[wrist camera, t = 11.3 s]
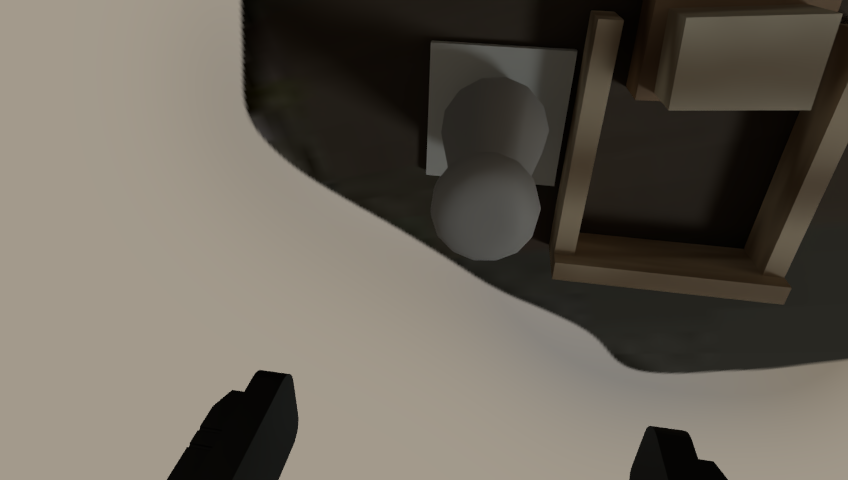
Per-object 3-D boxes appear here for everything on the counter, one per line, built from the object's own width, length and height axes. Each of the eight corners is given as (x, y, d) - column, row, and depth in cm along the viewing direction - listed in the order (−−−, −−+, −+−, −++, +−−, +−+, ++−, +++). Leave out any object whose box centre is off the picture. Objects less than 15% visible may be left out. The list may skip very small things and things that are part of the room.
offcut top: (668, 8, 25) (686, 17, 22) (808, 4, 24) (843, 13, 21) (654, 92, 27) (668, 110, 24) (781, 92, 26) (810, 110, 23)
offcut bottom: (644, -13, 27) (657, -7, 25) (811, -10, 26) (843, -3, 24) (625, 85, 30) (635, 99, 27) (776, 91, 29) (802, 107, 26)
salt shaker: (554, 152, 31) (573, 274, 20) (461, 173, 33) (433, 297, 22) (534, 53, 29) (544, 133, 18) (434, 81, 30) (387, 170, 19)
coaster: (432, 40, 30) (430, 42, 29) (576, 49, 29) (577, 51, 28) (427, 170, 34) (426, 174, 33) (553, 182, 33) (554, 186, 33)
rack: (591, 10, 28) (601, 22, 24) (861, 24, 26) (912, 39, 23) (548, 245, 35) (552, 278, 32) (756, 266, 34) (783, 304, 30)
